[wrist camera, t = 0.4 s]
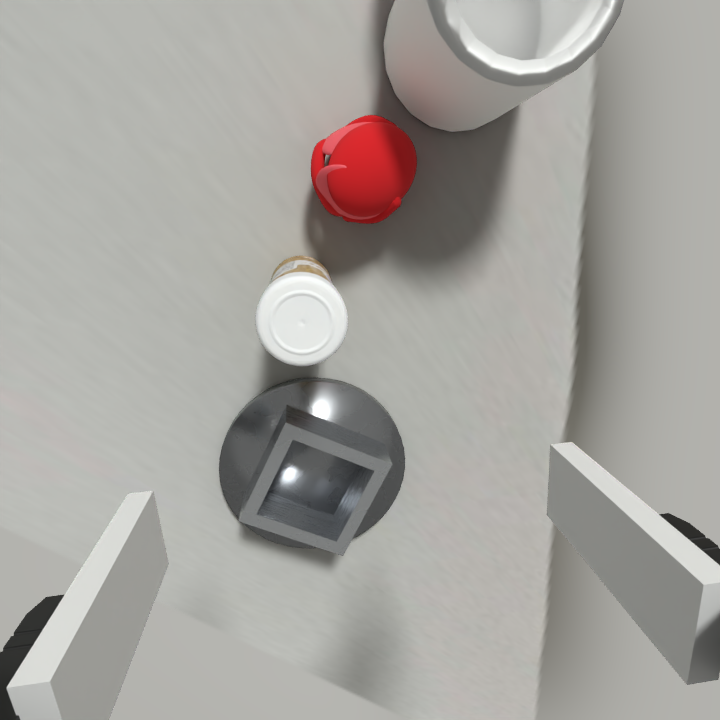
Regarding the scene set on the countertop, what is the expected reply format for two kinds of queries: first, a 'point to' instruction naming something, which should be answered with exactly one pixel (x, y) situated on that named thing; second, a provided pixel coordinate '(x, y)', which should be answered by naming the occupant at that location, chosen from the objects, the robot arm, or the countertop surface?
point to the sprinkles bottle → (301, 313)
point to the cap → (364, 169)
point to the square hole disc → (312, 464)
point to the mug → (487, 53)
